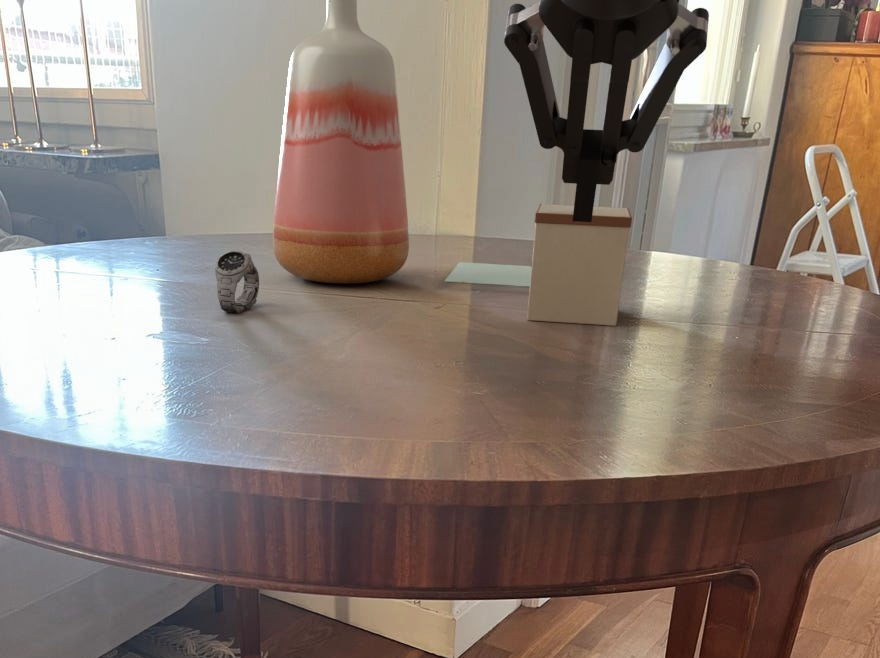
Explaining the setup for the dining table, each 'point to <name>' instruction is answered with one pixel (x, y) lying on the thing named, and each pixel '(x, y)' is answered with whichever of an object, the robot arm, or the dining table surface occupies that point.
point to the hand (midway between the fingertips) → (583, 207)
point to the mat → (491, 274)
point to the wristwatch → (236, 281)
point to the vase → (341, 159)
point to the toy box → (578, 265)
